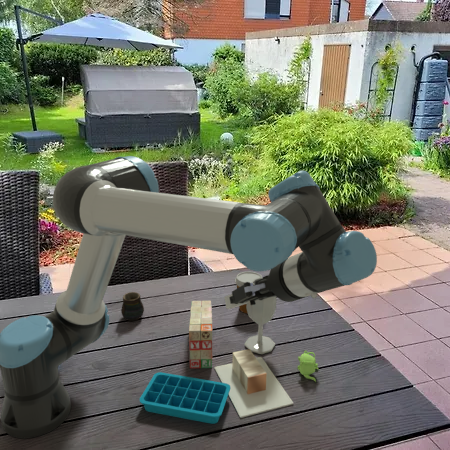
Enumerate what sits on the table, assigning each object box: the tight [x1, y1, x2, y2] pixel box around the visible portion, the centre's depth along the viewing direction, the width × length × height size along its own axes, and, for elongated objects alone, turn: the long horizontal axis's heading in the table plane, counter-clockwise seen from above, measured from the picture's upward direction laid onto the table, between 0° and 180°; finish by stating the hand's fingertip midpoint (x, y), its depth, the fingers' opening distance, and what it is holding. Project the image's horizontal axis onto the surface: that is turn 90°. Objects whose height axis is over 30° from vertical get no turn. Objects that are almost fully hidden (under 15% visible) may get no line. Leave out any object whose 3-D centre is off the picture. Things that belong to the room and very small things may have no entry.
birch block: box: [231, 348, 267, 394], centre depth 117 cm, size 5×5×11 cm
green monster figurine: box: [297, 350, 319, 383], centre depth 120 cm, size 6×5×6 cm
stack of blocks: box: [188, 300, 213, 369], centre depth 131 cm, size 21×6×12 cm, turn 2°
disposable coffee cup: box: [234, 271, 263, 314], centre depth 151 cm, size 10×10×12 cm
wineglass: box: [244, 276, 278, 355], centre depth 129 cm, size 9×9×21 cm
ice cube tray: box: [139, 371, 231, 425], centre depth 109 cm, size 12×20×3 cm, turn 76°
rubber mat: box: [213, 356, 294, 419], centre depth 116 cm, size 14×20×1 cm
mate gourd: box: [120, 291, 145, 322], centre depth 145 cm, size 7×8×10 cm
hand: (228, 302), depth 98 cm, fingers closed
